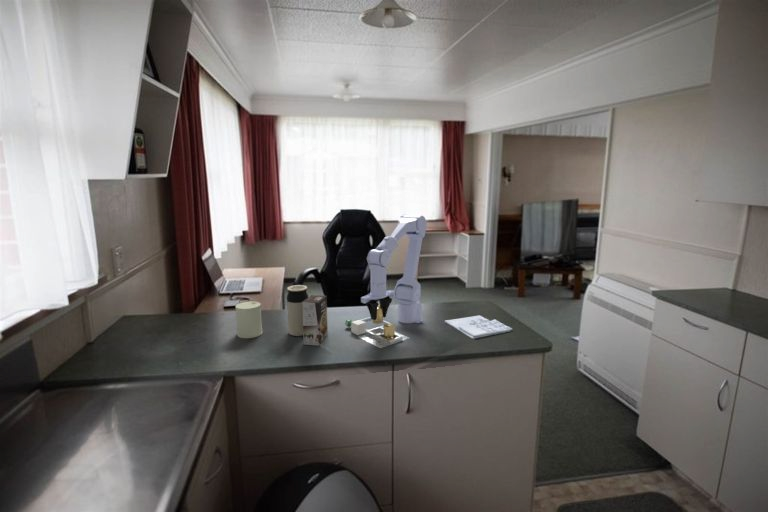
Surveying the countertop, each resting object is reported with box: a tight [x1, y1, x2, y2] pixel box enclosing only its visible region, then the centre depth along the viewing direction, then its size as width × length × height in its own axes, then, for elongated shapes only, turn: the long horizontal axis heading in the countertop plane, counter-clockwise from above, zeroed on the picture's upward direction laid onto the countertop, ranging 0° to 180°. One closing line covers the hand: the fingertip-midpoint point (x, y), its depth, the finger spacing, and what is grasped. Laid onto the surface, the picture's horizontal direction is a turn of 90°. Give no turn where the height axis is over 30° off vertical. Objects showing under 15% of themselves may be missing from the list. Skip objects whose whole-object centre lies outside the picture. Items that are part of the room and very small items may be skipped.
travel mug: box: [286, 284, 309, 337], centre depth 158 cm, size 8×8×18 cm
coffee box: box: [302, 294, 329, 347], centre depth 150 cm, size 9×6×16 cm
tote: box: [360, 316, 393, 331], centre depth 165 cm, size 12×12×2 cm
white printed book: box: [444, 315, 513, 340], centre depth 166 cm, size 19×20×2 cm
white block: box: [350, 319, 367, 336], centre depth 156 cm, size 4×4×5 cm
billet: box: [371, 305, 384, 325], centre depth 153 cm, size 4×4×6 cm
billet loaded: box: [383, 323, 396, 340], centre depth 149 cm, size 4×4×6 cm
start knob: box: [344, 318, 353, 328], centre depth 159 cm, size 3×7×3 cm, turn 40°
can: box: [235, 300, 264, 339], centre depth 157 cm, size 9×9×12 cm
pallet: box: [358, 326, 410, 349], centre depth 151 cm, size 14×13×3 cm
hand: (378, 318), depth 152 cm, fingers closed on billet, 4 cm apart
